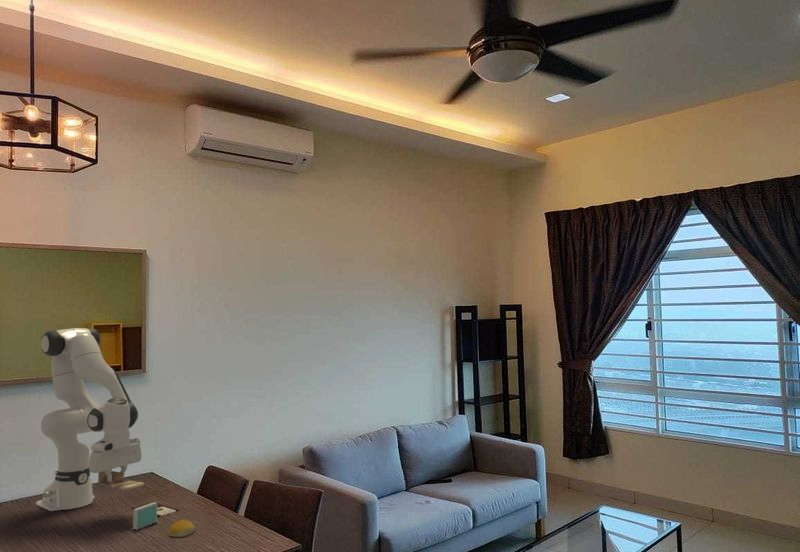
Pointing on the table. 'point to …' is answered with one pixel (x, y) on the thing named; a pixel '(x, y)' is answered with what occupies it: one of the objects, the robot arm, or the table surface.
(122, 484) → the brown flat knobbed piece
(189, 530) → the bread roll
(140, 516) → the tile
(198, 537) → the table surface
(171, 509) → the chocolate bar
